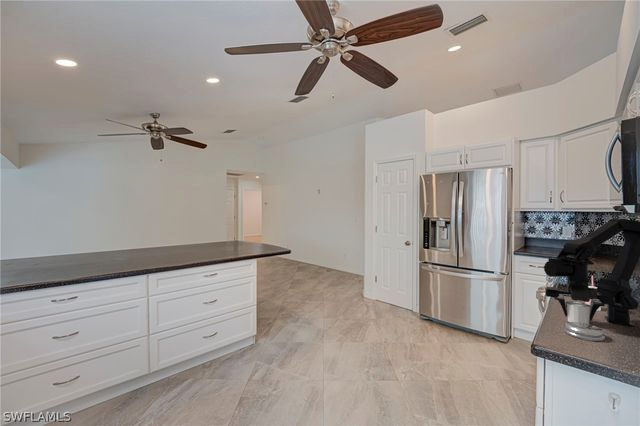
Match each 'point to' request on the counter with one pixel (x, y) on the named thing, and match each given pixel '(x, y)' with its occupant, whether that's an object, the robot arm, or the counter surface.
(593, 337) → the duct stub
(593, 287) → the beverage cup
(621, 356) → the counter surface
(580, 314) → the white cup
